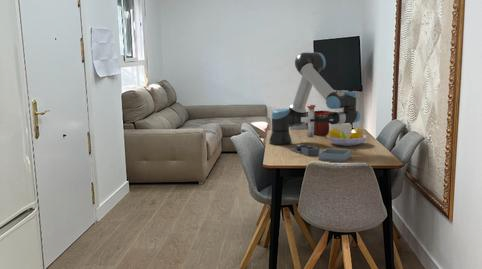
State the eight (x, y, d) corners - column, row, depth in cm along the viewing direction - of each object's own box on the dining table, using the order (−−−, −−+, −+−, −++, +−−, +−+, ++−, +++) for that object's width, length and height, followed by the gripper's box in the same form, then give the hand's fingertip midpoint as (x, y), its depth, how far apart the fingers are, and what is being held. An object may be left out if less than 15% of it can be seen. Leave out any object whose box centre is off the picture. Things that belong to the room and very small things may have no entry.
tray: (318, 159, 272) (318, 152, 271) (326, 155, 285) (326, 148, 285) (344, 162, 265) (344, 154, 265) (351, 157, 278) (351, 150, 278)
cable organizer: (330, 139, 340) (330, 123, 338) (328, 137, 350) (329, 121, 348) (351, 139, 338) (351, 123, 336) (349, 137, 348) (350, 121, 347)
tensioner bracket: (290, 150, 301) (290, 144, 300) (303, 149, 304) (303, 143, 304) (307, 156, 283) (307, 149, 282) (320, 154, 286) (320, 148, 286)
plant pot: (302, 133, 372) (302, 111, 369) (323, 131, 380) (323, 110, 377) (316, 136, 355) (316, 113, 352) (337, 134, 363) (337, 112, 360)
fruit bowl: (337, 139, 339) (337, 124, 337) (373, 143, 322) (374, 126, 320) (317, 145, 317) (317, 128, 315) (354, 150, 300) (355, 132, 298)
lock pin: (305, 137, 285) (306, 105, 282) (308, 136, 289) (308, 104, 286) (313, 137, 283) (313, 105, 280) (315, 136, 287) (316, 104, 284)
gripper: (344, 125, 285) (310, 128, 275) (328, 122, 300) (296, 124, 290) (344, 113, 283) (310, 115, 274) (328, 110, 298) (296, 112, 289)
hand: (303, 120), depth 282 cm, fingers closed on lock pin, 3 cm apart
